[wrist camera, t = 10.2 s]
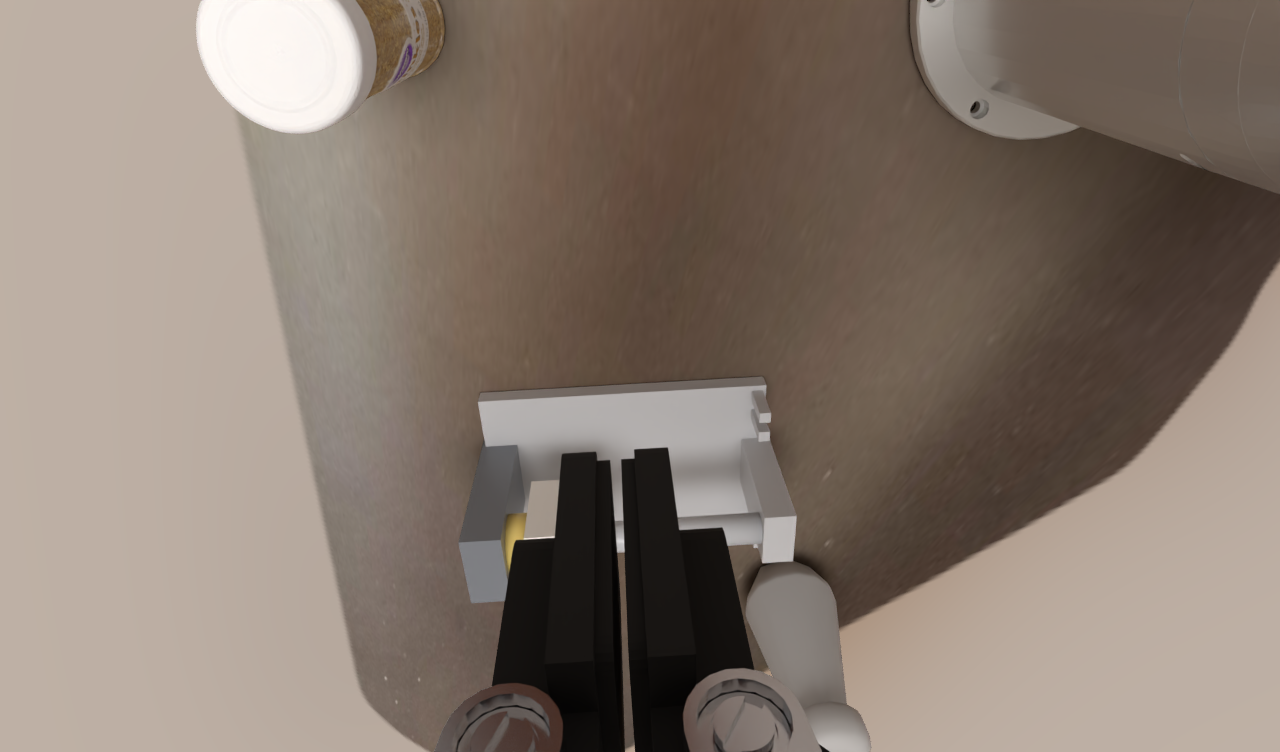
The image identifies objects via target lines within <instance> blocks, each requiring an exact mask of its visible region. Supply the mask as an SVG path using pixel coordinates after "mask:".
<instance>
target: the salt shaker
mask: <svg viewBox="0 0 1280 752" xmlns="http://www.w3.org/2000/svg"><path fill="white" fill-rule="evenodd" d="M746 618H747V620H748V622H749V625H750V627H751V629H752V631H753V634H754V636H755V638H756V640H757V642H758V645H759V647H760V649H761V651H762V654H763V656H764V658H765V660H766V662H767V665H768V667H769V669H770V671H771V674H772V676H773V677H774V678H776V679H778V680H779V681H780V682H782V683H783V684H784V685H785V686H786V687H787V688H789V689H790V690H791V691H792V692H793V693H794V695H795V697H796V698H797V700H798V701H799V703H800V704H801V706H802V708H803V710H804V712H805V714H806V717H807V719H808V721H809V723H810V726H811V728H812V730H813V732H814V735H815V737H816V739H817V741H818V744H820V745H821V746H823V747H824V748H826V749H827V750H828V751H830V752H870V750H871V743H870V736H869V733H868V731H867V729H866V726H865V724H864V722H863V719H862V717H861V715H860V714H859V712H858V711H857V710H855V709H854V708H852V707H850V706H849V705H847V703H846V693H845V684H844V674H843V664H842V655H841V645H840V636H839V626H838V617H837V607H836V600H835V598H834V595H833V593H832V590H831V588H830V586H829V585H828V583H827V582H826V581H825V580H824V579H823V578H822V577H820V576H819V575H818V574H817V573H816V572H815V571H813V570H812V569H811V568H810V567H808V566H806V565H803V564H800V563H798V562H795V561H789V562H774V563H771V564H768V565H766V566H763V567H761V568H760V570H759V572H758V574H757V576H756V579H755V581H754V583H753V585H752V588H751V590H750V592H749V594H748V598H747V604H746Z"/></svg>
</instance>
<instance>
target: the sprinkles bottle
mask: <svg viewBox="0 0 1280 752" xmlns="http://www.w3.org/2000/svg"><path fill="white" fill-rule="evenodd" d="M444 34H445V25H444V19H443V14H442V9H441V6H440V4H439V2H438V0H201V2H200V5H199V9H198V14H197V20H196V36H197V44H198V49H199V53H200V56H201V60H202V63H203V65H204V67H205V69H206V72H207V74H208V76H209V78H210V79H211V81H212V82H213V84H214V85H215V87H216V89H217V90H218V91H219V92H220V94H221V95H222V96H223V97H224V98H225V99H226V100H227V101H228V102H229V103H230V105H231V106H233V107H234V108H235V109H236V110H237V111H239V112H240V113H241V114H243V115H244V116H245V117H247V118H248V119H250V120H252V121H253V122H255V123H257V124H259V125H261V126H264V127H266V128H269V129H272V130H275V131H279V132H284V133H292V134H304V133H312V132H316V131H320V130H323V129H325V128H327V127H330V126H332V125H334V124H336V123H338V122H340V121H342V120H343V119H345V118H347V117H348V116H350V115H351V114H352V113H354V112H355V111H356V110H357V109H358V108H359V107H360V106H361V105H362V104H363V102H364V101H365V100H366V99H367V98H368V97H370V96H372V95H375V94H378V93H381V92H383V91H385V90H387V89H389V88H391V87H393V86H395V85H397V84H398V83H400V82H402V81H404V80H405V79H407V78H408V77H413V76H415V75H418V74H419V73H421V72H423V71H425V70H426V69H427V68H428V67H429V66H430V65H431V64H432V63H433V62H434V61H435V60H436V59H437V57H438V55H439V53H440V51H441V49H442V47H443V42H444Z"/></svg>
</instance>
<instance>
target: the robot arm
mask: <svg viewBox="0 0 1280 752" xmlns="http://www.w3.org/2000/svg"><path fill="white" fill-rule="evenodd" d="M910 35H911V41H912V46H913V51H914V56H915V61H916V63H917V66H918V68H919V71H920V73H921V75H922V78H923V80H924V83H925V85H926V86H927V87H928V89H929V90H930V92H931V93H932V95H933V96H934V97H935V99H936V100H937V102H938V103H939V104H940V105H941V106H942V107H943V108H944V109H946V110H947V111H948V112H949V113H950V114H951V115H952V116H953V117H954V118H956V119H957V120H959V121H961V122H963V123H965V124H967V125H969V126H970V127H972V128H974V129H976V130H979V131H982V132H984V133H987V134H990V135H992V136H995V137H1002V138H1008V139H1015V140H1027V139H1044V138H1048V137H1052V136H1056V135H1060V134H1064V133H1068V132H1071V131H1073V130H1075V129H1078V128H1080V127H1083V128H1086V129H1089V130H1092V131H1095V132H1098V133H1101V134H1104V135H1107V136H1109V137H1112V138H1115V139H1118V140H1121V141H1124V142H1127V143H1130V144H1133V145H1135V146H1138V147H1141V148H1144V149H1147V150H1150V151H1153V152H1156V153H1159V154H1161V155H1164V156H1167V157H1170V158H1173V159H1176V160H1179V161H1182V162H1185V163H1187V164H1190V165H1193V166H1196V167H1199V168H1202V169H1205V170H1208V171H1211V172H1214V173H1217V174H1220V175H1223V176H1226V177H1229V178H1232V179H1235V180H1238V181H1241V182H1245V183H1248V184H1251V185H1253V186H1256V187H1259V188H1262V189H1265V190H1268V191H1271V192H1274V193H1277V194H1280V0H931V1H930V2H927V0H911V1H910ZM974 102H976V107H975V109H974V110H973V111H970V109H971V106H972V104H973V103H974ZM621 471H622V497H623V523H624V549H625V575H626V601H627V627H628V651H629V669H630V684H631V698H632V712H633V726H634V741H635V752H830V751H828V750H827V749H826V748H824V747H823V746H821V745H820V744H818V741H817V739H816V737H815V735H814V732H813V730H812V728H811V726H810V723H809V721H808V719H807V717H806V714H805V712H804V710H803V708H802V706H801V704H800V703H799V701H798V700H797V698H796V697H795V695H794V693H793V692H792V691H791V690H790V689H789V688H787V687H786V686H785V685H784V684H783V683H782V682H780V681H779V680H778V679H776V678H774V677H772V676H770V675H767V674H765V673H763V672H760V671H755V670H754V666H753V662H752V657H751V652H750V648H749V643H748V638H747V634H746V629H745V625H744V620H743V615H742V611H741V606H740V601H739V597H738V592H737V587H736V583H735V578H734V573H733V569H732V564H731V560H730V555H729V550H728V546H727V541H726V537H725V533H724V530H723V528H722V527H721V528H704V529H688V530H679V524H678V516H677V509H676V502H675V494H674V487H673V480H672V472H671V465H670V458H669V451H668V447H664V448H647V449H634V458H633V459H621ZM434 752H625V739H624V704H623V670H622V636H621V603H620V584H619V570H618V557H617V543H616V530H615V516H614V503H613V489H612V475H611V463H610V460H599V461H597V453H596V452H580V453H563V454H562V456H561V467H560V479H559V491H558V504H557V516H556V528H555V538H542V539H525V540H516V541H515V543H514V546H513V551H512V557H511V564H510V571H509V577H508V584H507V590H506V597H505V603H504V610H503V617H502V623H501V630H500V636H499V643H498V649H497V656H496V663H495V669H494V676H493V682H492V687H489V688H486V689H483V690H480V691H479V692H477V693H476V694H474V695H472V696H471V697H469V698H468V699H466V700H464V701H463V702H462V704H461V705H460V706H459V707H458V708H457V709H456V710H455V711H454V712H453V713H452V714H451V715H450V717H449V719H448V721H447V723H446V724H445V726H444V728H443V730H442V732H441V735H440V737H439V740H438V743H437V746H436V748H435V751H434Z"/></svg>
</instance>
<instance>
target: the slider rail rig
mask: <svg viewBox="0 0 1280 752" xmlns="http://www.w3.org/2000/svg"><path fill="white" fill-rule="evenodd" d="M478 405H479V411H480V417H481V422H482V428H483V434H484V442H483V446H482V450H481V454H480V458H479V462H478V466H477V470H476V474H475V478H474V482H473V486H472V490H471V494H470V498H469V502H468V506H467V510H466V514H465V518H464V522H463V527H462V531H461V535H460V539H459V547H460V552H461V557H462V562H463V566H464V571H465V576H466V581H467V585H468V590H469V595H470V599H471V603H480V602H496V601H505V597H506V590H507V584H508V577H509V571H510V564H511V557H512V551H513V546H514V543H515V541H516V540H524V532H525V525H526V517H527V510H528V503H529V495H530V488H531V481H548V480H559V479H560V467H561V456H562V454H563V453H580V452H596V453H597V461H599V460H610V463H611V475H612V489H613V503H614V516H615V530H616V543H617V553H619V552H625V549H624V523H623V497H622V471H621V459H633V458H634V449H647V448H664V447H668V451H669V458H670V465H671V472H672V480H673V487H674V494H675V502H676V509H677V516H678V524H679V530H688V529H704V528H721V527H722V528H723V530H724V533H725V537H726V541H727V546H732V545H748V544H753V547H754V548H758V550H759V553H760V557H761V561H762V563H773V562H789V561H793V555H794V542H795V530H796V518H797V516H796V513H795V510H794V507H793V504H792V501H791V499H790V496H789V493H788V490H787V487H786V484H785V482H784V479H783V476H782V473H781V470H780V467H779V465H778V462H777V459H776V456H775V453H774V450H773V447H772V445H771V442H770V430H769V427H768V425H767V423H770V422H771V411H770V409H769V406H768V403H767V401H766V383H765V380H764V378H763V376H762V377H745V378H727V379H710V380H693V381H675V382H658V383H640V384H623V385H606V386H588V387H571V388H554V389H536V390H519V391H501V392H484V393H480V396H479V400H478Z"/></svg>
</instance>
